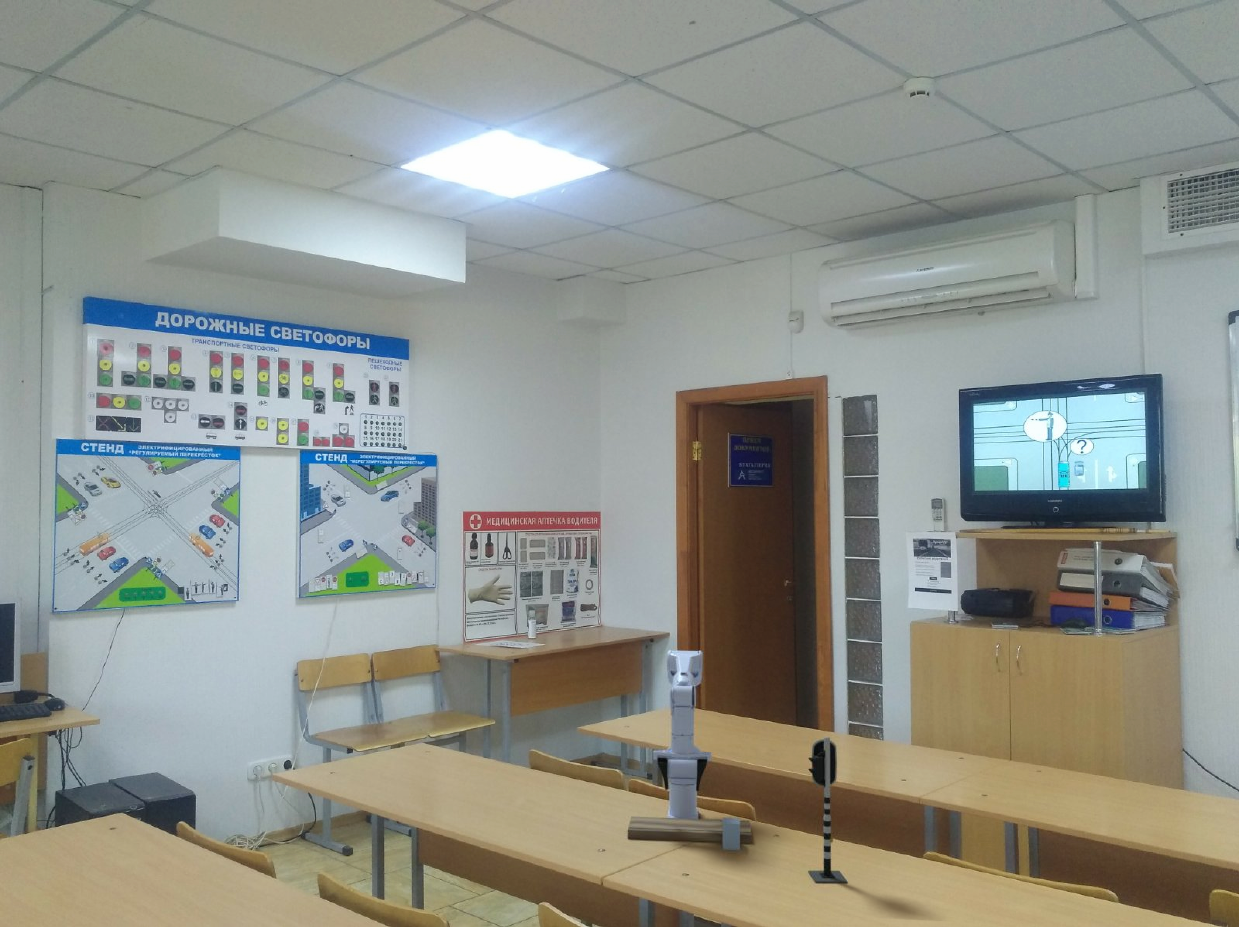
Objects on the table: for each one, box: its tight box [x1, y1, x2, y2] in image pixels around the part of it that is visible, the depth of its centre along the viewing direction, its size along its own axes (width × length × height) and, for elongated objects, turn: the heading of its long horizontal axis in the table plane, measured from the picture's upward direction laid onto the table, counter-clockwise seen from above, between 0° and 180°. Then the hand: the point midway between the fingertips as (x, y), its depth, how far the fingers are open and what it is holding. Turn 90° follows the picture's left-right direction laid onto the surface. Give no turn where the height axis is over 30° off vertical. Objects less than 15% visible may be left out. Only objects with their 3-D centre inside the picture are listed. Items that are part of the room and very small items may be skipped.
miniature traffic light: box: [807, 736, 848, 884], centre depth 219 cm, size 8×8×30 cm
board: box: [627, 816, 753, 844], centre depth 249 cm, size 12×30×2 cm, turn 85°
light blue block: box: [721, 817, 741, 851], centre depth 241 cm, size 8×4×6 cm, turn 175°
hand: (682, 789), depth 251 cm, fingers open, 7 cm apart
